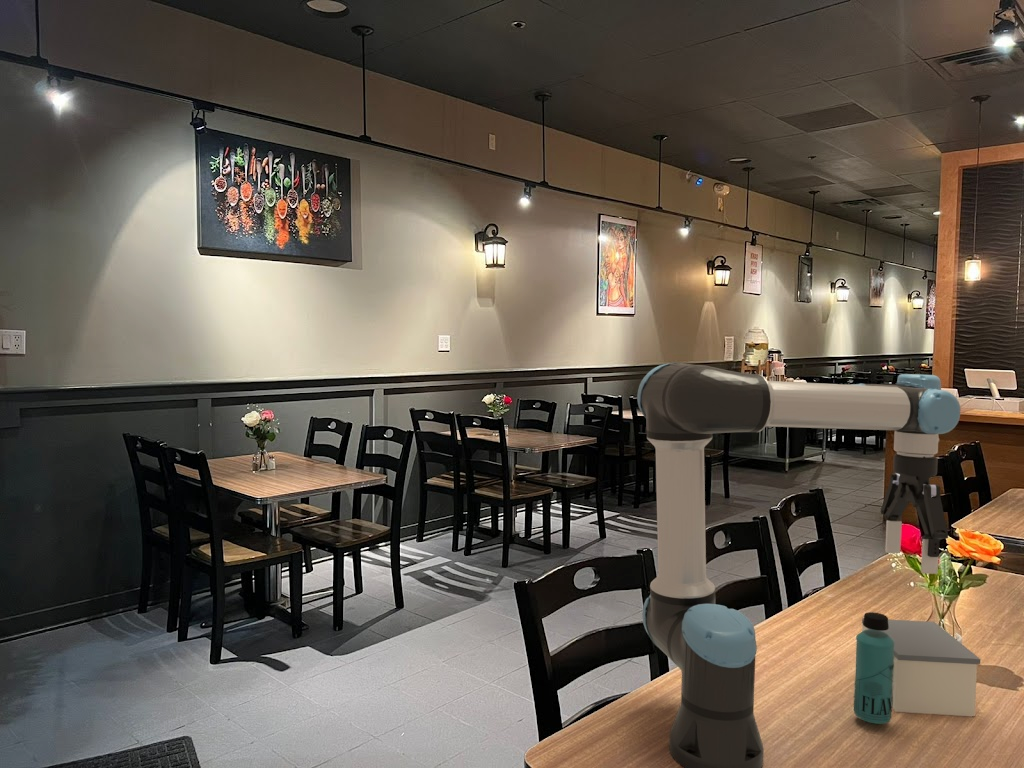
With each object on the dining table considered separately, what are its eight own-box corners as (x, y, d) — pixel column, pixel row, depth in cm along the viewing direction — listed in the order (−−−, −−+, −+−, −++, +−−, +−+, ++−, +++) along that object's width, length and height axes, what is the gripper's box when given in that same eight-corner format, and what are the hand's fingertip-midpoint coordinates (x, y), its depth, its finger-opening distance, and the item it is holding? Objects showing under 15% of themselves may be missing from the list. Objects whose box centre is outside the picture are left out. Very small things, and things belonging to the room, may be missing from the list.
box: (895, 711, 139) (897, 659, 139) (860, 670, 157) (862, 623, 157) (974, 716, 138) (977, 663, 137) (930, 673, 156) (932, 627, 155)
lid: (898, 659, 138) (898, 654, 138) (861, 622, 157) (862, 618, 157) (980, 664, 137) (980, 659, 137) (933, 626, 155) (934, 621, 155)
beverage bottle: (855, 729, 133) (859, 619, 132) (849, 712, 139) (853, 606, 138) (895, 735, 131) (900, 623, 130) (887, 717, 137) (892, 610, 136)
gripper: (974, 464, 131) (967, 583, 133) (902, 445, 156) (897, 545, 157) (931, 463, 132) (925, 582, 133) (866, 445, 156) (861, 544, 158)
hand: (910, 562), depth 145 cm, fingers open, 13 cm apart
